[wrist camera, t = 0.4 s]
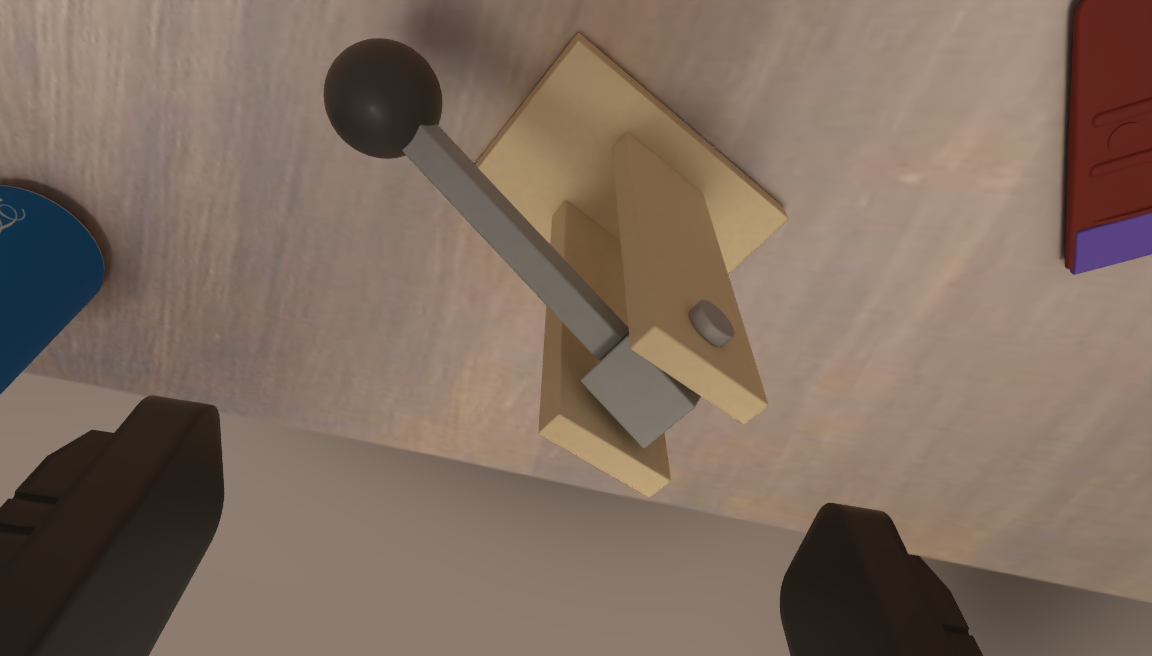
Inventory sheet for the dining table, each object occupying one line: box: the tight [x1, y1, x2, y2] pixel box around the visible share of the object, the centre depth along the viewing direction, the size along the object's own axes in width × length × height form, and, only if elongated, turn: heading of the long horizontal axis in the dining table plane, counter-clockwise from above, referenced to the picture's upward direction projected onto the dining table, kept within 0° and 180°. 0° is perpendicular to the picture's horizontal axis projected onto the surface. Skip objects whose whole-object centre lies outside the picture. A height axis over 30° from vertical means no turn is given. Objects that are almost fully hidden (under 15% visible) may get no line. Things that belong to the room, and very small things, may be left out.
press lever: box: [324, 39, 701, 448], centre depth 23 cm, size 15×4×4 cm, turn 51°
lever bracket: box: [475, 33, 788, 497], centre depth 27 cm, size 12×8×15 cm, turn 51°
